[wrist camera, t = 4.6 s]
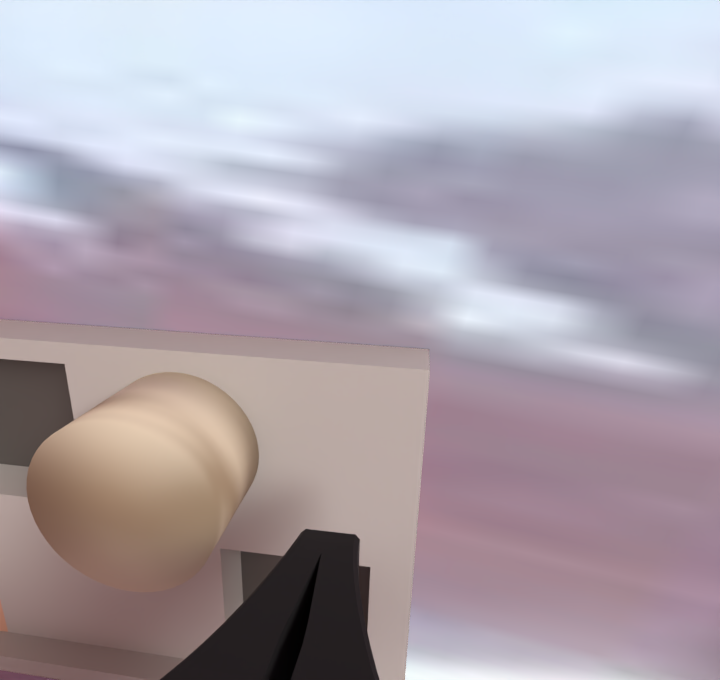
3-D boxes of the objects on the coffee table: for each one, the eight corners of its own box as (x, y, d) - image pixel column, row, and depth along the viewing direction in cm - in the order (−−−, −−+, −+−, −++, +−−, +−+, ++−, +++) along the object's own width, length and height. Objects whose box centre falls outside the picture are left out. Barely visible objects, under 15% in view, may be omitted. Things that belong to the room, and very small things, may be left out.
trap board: (404, 659, 20) (400, 750, 17) (-91, 587, 23) (-178, 654, 20) (428, 349, 16) (430, 389, 13) (-180, 306, 19) (-311, 330, 15)
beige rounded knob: (260, 522, 17) (219, 604, 13) (116, 504, 17) (42, 578, 14) (257, 380, 15) (210, 432, 12) (98, 364, 15) (10, 411, 12)
